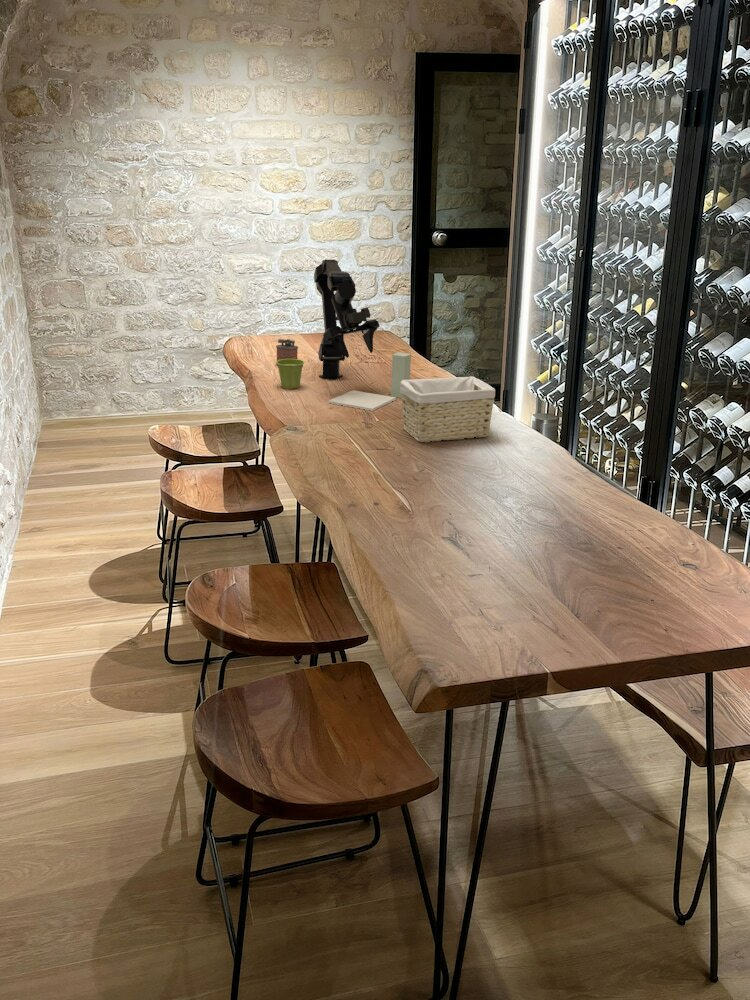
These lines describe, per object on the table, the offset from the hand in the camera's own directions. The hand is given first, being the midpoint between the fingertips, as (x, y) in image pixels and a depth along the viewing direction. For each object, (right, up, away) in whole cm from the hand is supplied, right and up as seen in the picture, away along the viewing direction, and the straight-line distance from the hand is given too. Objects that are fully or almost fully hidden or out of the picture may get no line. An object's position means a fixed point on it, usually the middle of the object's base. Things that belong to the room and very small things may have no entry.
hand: (360, 354), depth 281 cm
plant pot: (-24, -9, +12) cm, 28 cm away
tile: (+1, -15, -2) cm, 16 cm away
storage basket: (+25, -28, -31) cm, 48 cm away
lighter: (-28, +2, +41) cm, 49 cm away
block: (+13, -13, +6) cm, 19 cm away
